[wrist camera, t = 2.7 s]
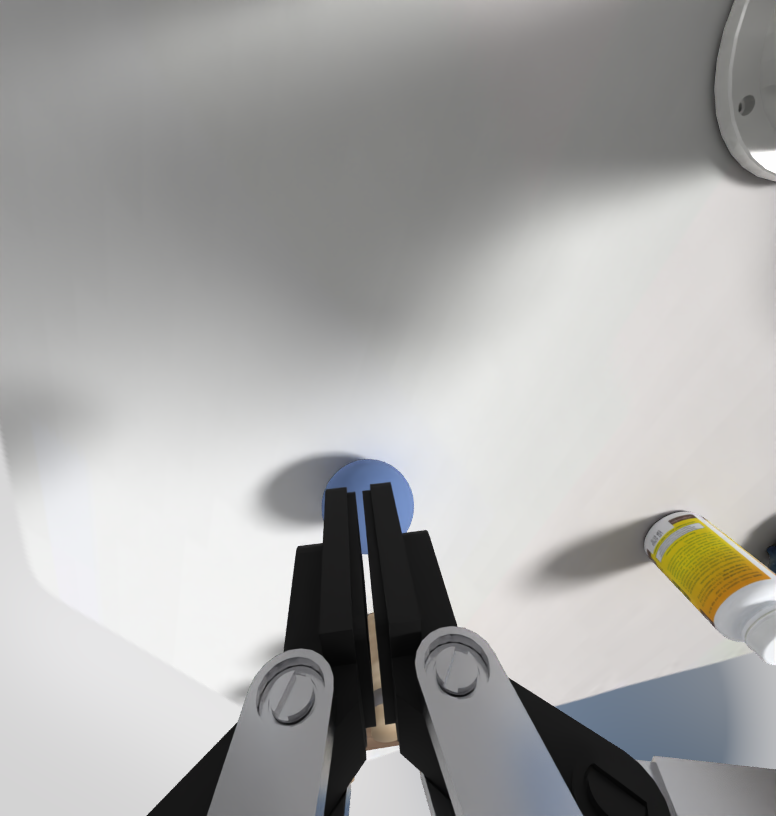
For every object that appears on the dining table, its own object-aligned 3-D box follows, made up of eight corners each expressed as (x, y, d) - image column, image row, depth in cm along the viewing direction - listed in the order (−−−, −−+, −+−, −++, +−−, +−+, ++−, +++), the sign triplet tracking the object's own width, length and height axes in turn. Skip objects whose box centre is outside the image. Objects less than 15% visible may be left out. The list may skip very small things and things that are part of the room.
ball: (318, 447, 27) (313, 501, 22) (405, 438, 28) (420, 490, 22) (328, 516, 30) (325, 581, 24) (407, 508, 30) (422, 569, 25)
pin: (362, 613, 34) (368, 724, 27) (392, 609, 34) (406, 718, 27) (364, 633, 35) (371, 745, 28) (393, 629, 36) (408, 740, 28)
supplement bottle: (627, 551, 35) (732, 667, 25) (666, 501, 33) (794, 608, 24) (675, 563, 36) (791, 679, 27) (715, 516, 34) (854, 623, 25)
